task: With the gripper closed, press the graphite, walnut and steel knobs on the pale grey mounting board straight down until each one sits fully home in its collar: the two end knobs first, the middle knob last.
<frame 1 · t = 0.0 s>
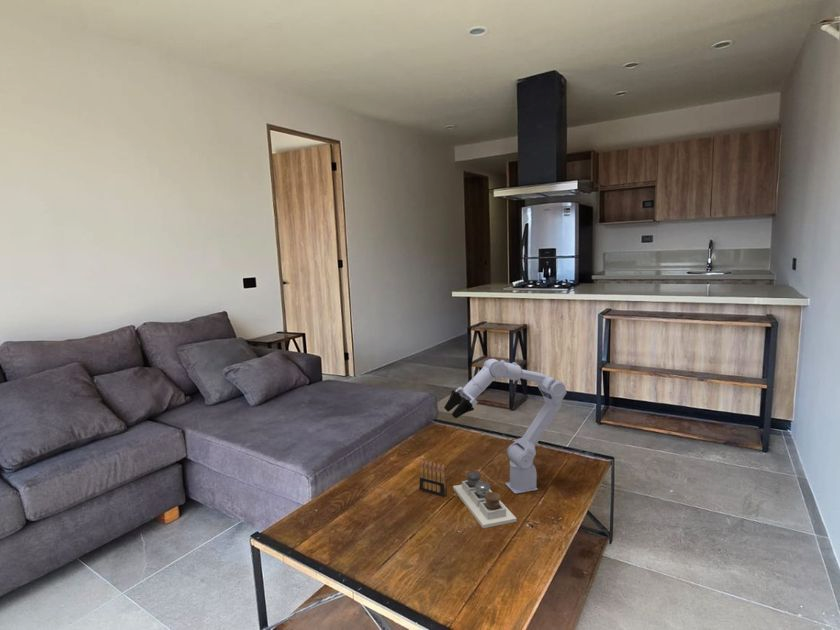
hand: (449, 413, 164), 32 cm above the table, tool tilted 50°, fingers open, 7 cm apart
mount board: (482, 504, 165), on the table
knob walnut: (492, 501, 157), point 5 cm above the table, slide at 2.0 cm
ammunition clip: (432, 493, 174), on the table
knob graphite: (473, 479, 172), point 5 cm above the table, slide at 2.0 cm
knob steel: (482, 489, 164), point 5 cm above the table, slide at 2.0 cm
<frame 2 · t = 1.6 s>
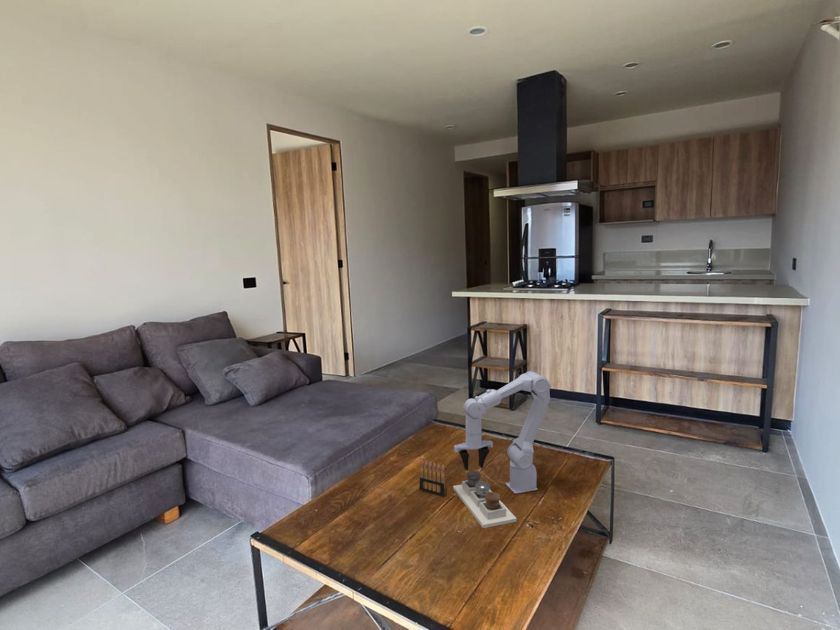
hand: (473, 467, 171), 10 cm above the table, tool pointing down, fingers open, 5 cm apart
nothing on the table moved.
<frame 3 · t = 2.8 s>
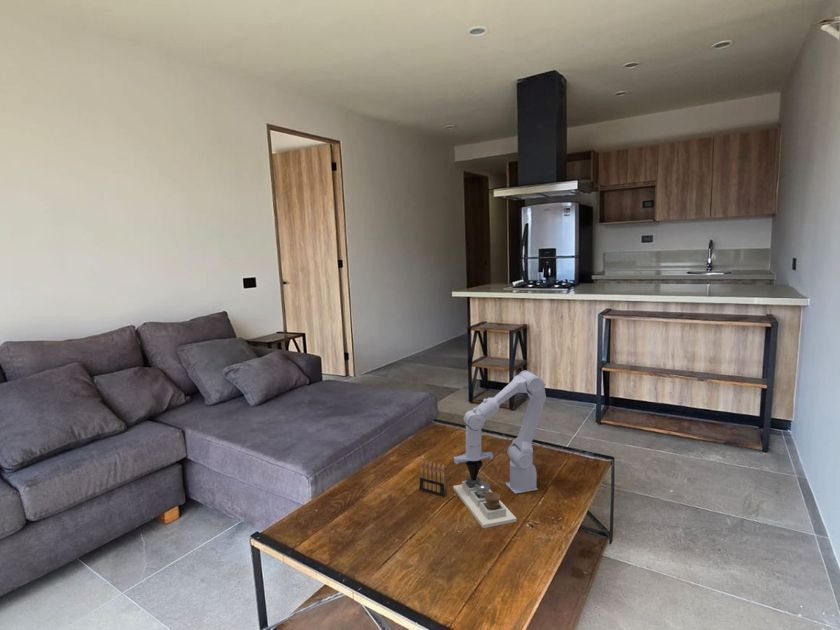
hand: (473, 479, 172), 5 cm above the table, tool pointing down, fingers closed, pressing on knob graphite
knob graphite: (473, 483, 172), point 4 cm above the table, slide at 0.3 cm, touching gripper
everything else where it was.
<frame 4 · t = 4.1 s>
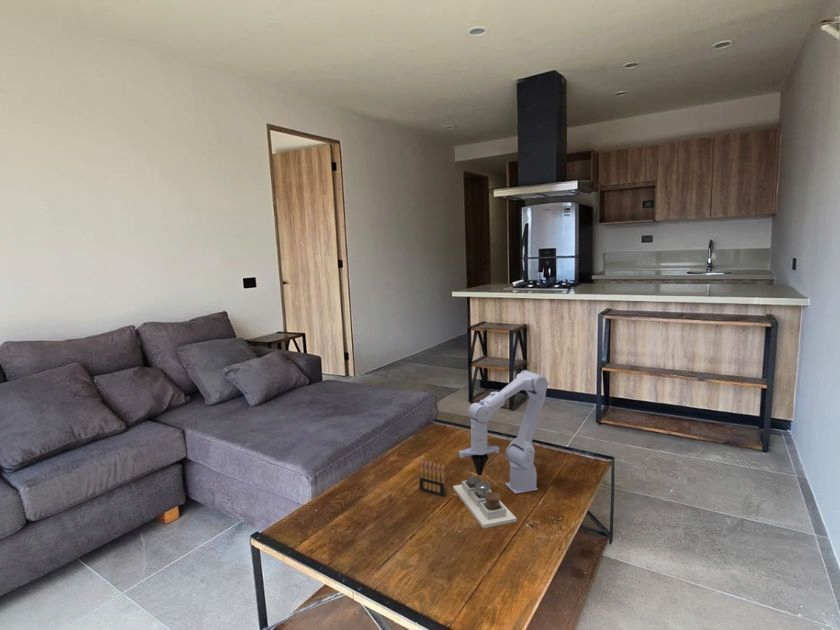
hand: (479, 473, 166), 10 cm above the table, tool pointing down, fingers closed
knob graphite: (473, 485, 172), point 3 cm above the table, slide at -0.2 cm
everything else where it was.
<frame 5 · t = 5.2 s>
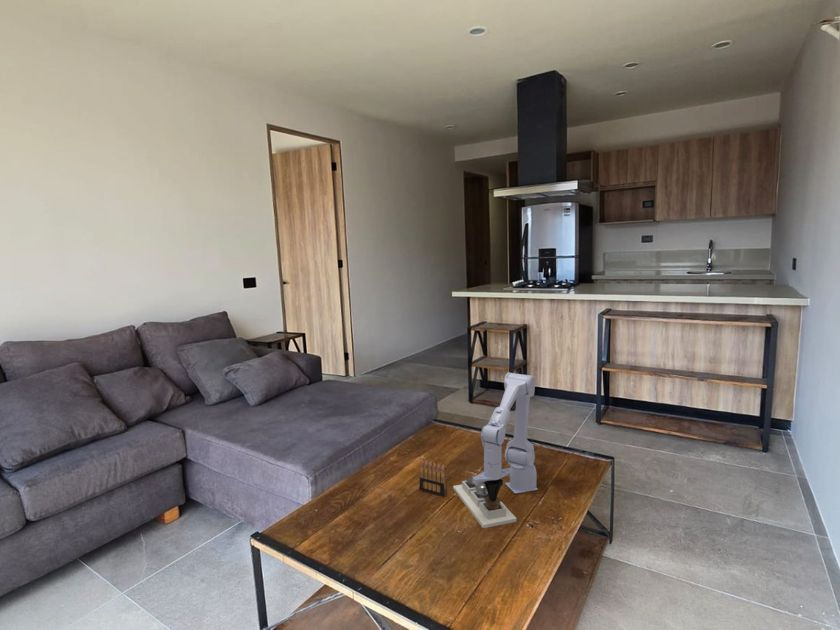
hand: (492, 499, 157), 6 cm above the table, tool pointing down, fingers closed, pressing on knob walnut
knob walnut: (492, 504, 157), point 4 cm above the table, slide at 0.7 cm, touching gripper
everything else where it was.
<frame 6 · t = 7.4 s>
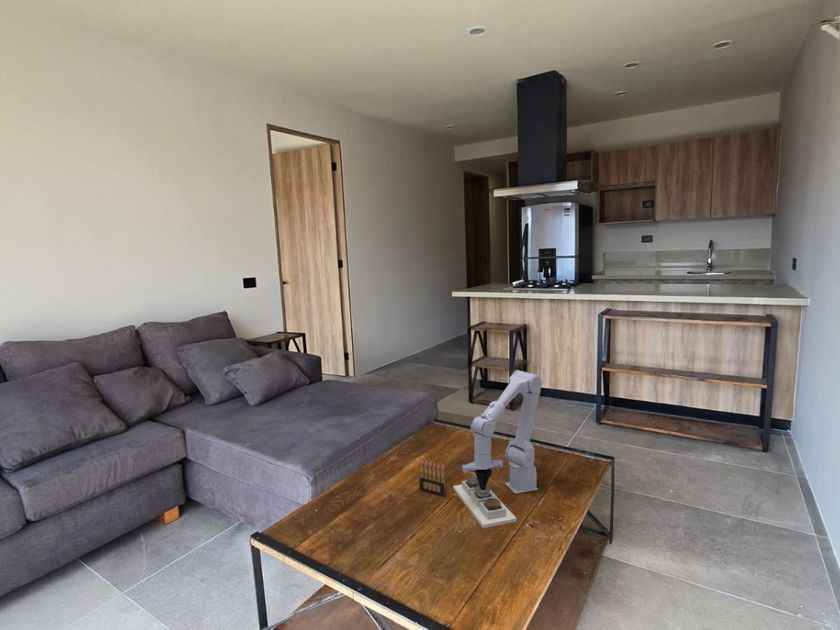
hand: (482, 488, 164), 6 cm above the table, tool pointing down, fingers closed, pressing on knob steel
knob walnut: (492, 507, 157), point 3 cm above the table, slide at -0.2 cm
knob steel: (482, 493, 164), point 4 cm above the table, slide at 0.7 cm, touching gripper
everything else where it was.
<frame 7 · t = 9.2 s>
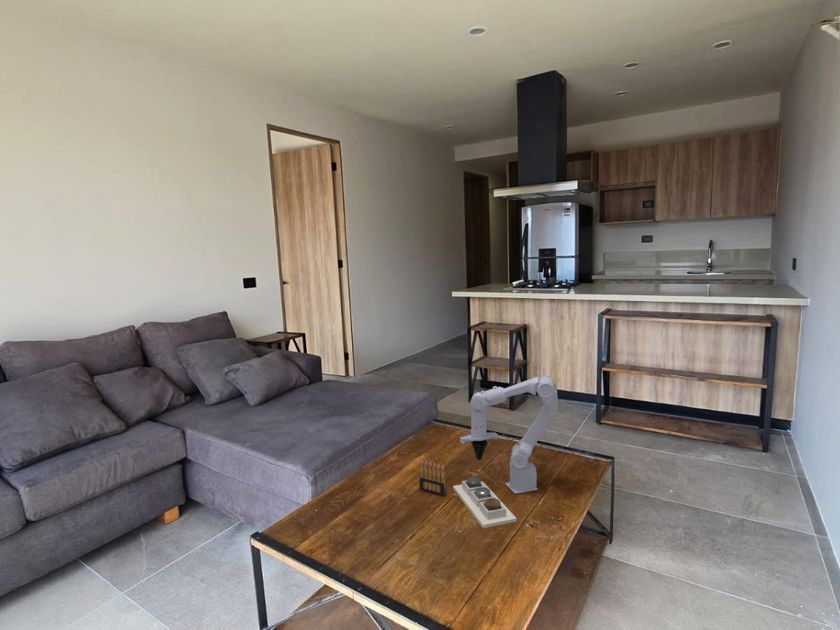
hand: (478, 458, 179), 10 cm above the table, tool pointing down, fingers closed
knob steel: (482, 495, 165), point 3 cm above the table, slide at -0.2 cm
everything else where it was.
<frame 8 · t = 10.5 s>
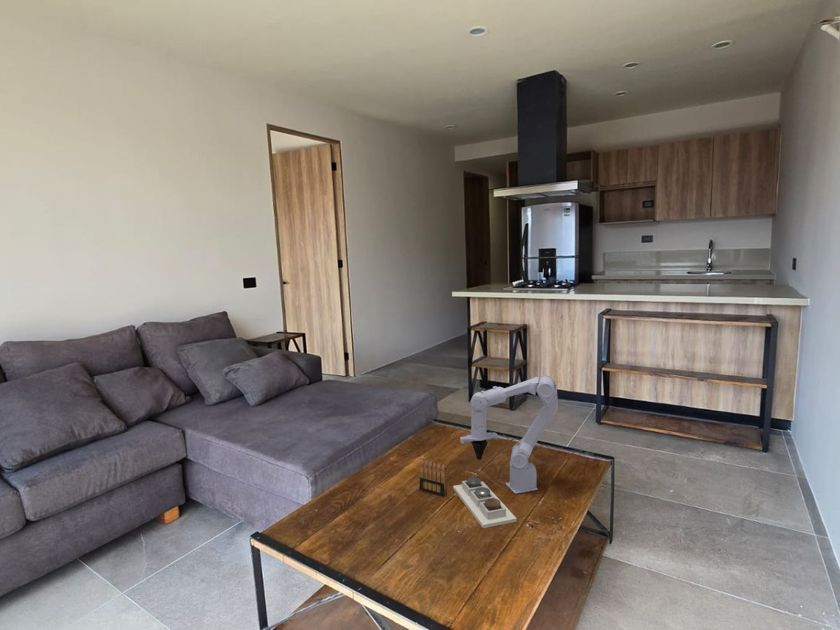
hand: (478, 458, 179), 10 cm above the table, tool pointing down, fingers closed
nothing on the table moved.
at the end: knob graphite slide at -0.2 cm; knob walnut slide at -0.2 cm; knob steel slide at -0.2 cm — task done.
